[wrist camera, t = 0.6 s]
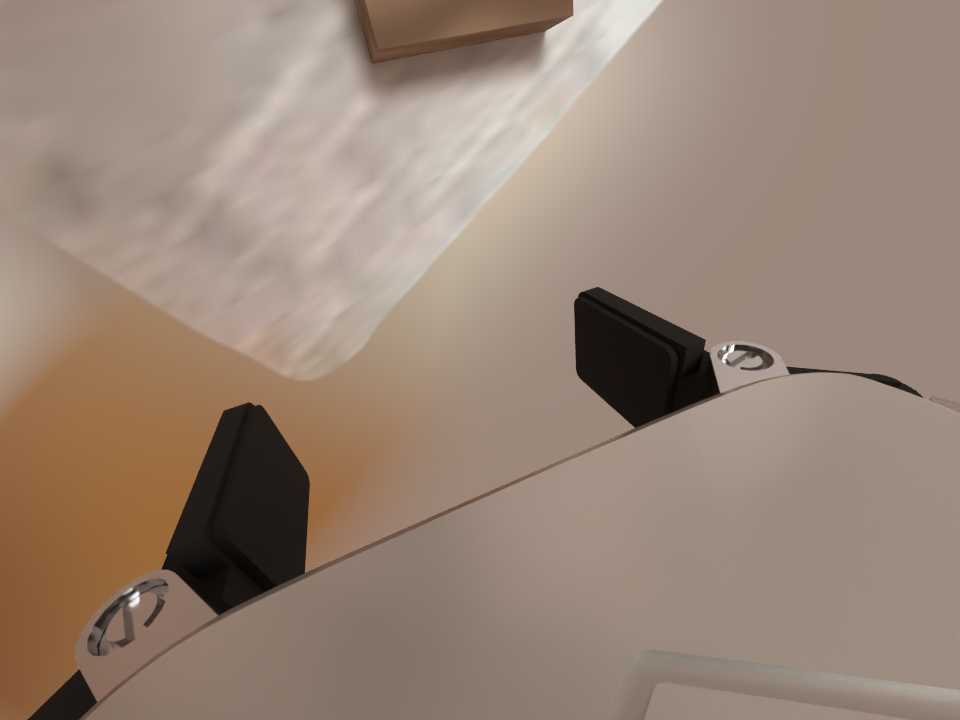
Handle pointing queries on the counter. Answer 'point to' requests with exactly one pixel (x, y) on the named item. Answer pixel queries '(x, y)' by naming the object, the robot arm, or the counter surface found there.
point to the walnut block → (451, 23)
